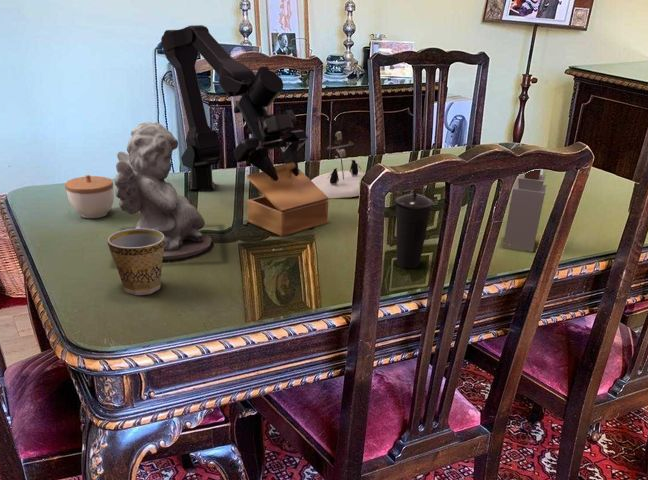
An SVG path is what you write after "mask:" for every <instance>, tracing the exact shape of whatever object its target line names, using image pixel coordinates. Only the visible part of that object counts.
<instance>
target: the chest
mask: <svg viewBox="0 0 648 480" xmlns="http://www.w3.org/2000/svg"><path fill="white" fill-rule="evenodd" d="M246 203H247V223H250V224H251V225H254V226H256V227H259V228H262V229H264V230H267V231H269V232H271V233H273V234H275V235H278V236H280V237H284V236H288V235H291V234H294V233H298V232H301V231H305V230H308V229H311V228H315V227H318V226H322V225H325V224H328V223H329V200H328V201H324V202H320V203H316V204H313V205H309V206H305V207H302V208H298V209H294V210H290V211H287V212H283V213H281V212H280V211H279V210H278V209H277V208H276V207H275V206H274V205H273V204H272V203H271V202H270V201H269V200H268V199H267V198H266V197H265V196H264V195H262V196H259V197H254V198H250V199H247V202H246Z"/></svg>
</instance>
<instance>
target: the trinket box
mask: <svg viewBox="0 0 648 480" xmlns="http://www.w3.org/2000/svg"><path fill="white" fill-rule="evenodd" d="M64 188H65V191H66V196H67V199H68V201H69V204H70V206H71V207H72V209H73V210H74V211H75V212H76V213H78V214H79V215H80V217H82V218H85V219H98V218H99V219H100V218H103V217H105V216H107V215H108V212H109V211H110V210H112V207H113V205H114V201H115V200H114V199H115V192H114V191H115V190H114V181H113V179H111V178H109V177H105V176H98V175H97V176H95V175H90V174H86V175H85V176H79V177H75V178H71V179H69V180H67V181H66V182H65V183H64Z"/></svg>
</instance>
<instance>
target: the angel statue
mask: <svg viewBox="0 0 648 480" xmlns="http://www.w3.org/2000/svg"><path fill="white" fill-rule="evenodd" d="M130 136H131V137H130V139H129V141H128V143H127V144H126V145H127V146H126V151H127V152H124V151H118V152H117V154H116V157H117V159H118V162H117V163H116V164H115V168H116V171H117V174H115V177H114V185H115V186H116V188H115V196H116V198H117V199H119V202H118V205H119V208H120V209H121V210H122V211H126V213H127V214H129V215H134V214H136V213H140V219H139V220H138V221H137V224H136V226H135V228H146V229H153V230H157V231H159V232H161V233H163V235H164V253H163V259H162V263H174V262H184V261H186V260H191V259H192V260H193V259H195V258H200V257H202V256H205V255H206V254H207V253H210V252H212V251H213V249H214V248H215V243H214V242H215V241H213V239H212V237H210V236H209V235H207V234H204V233H203V232H200V231H199V230H202V229H203V228H204V226H205V225H206V222H205V219H204V218H203V216H202V215H201V212H199V210H198V209H197V208H196V207H195V206H194V205H193V204H190V201H189V200H188V198H187V197H186V196H184V195H181V194H178V193H177V190H176V188H175V187H174V185H173V184H172V183H170V182H168V181H166V179H167V178H168V177H169V174H170V172H171V170H172V166H173V164H172V162H171V160H172V155H173V151H175V150H177V148H178V146H179V140H178V139H177V138H175V136H174V135H173V133H172V132H171V131H170V130H168V129H167V128H166V127H165V126H164V125H162V124H161V123H160V122H149V121H148V122H142V123H139V124H138V125H137V126H136V127H135V128H134V129H132V130H131V132H130Z"/></svg>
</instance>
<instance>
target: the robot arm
mask: <svg viewBox="0 0 648 480" xmlns="http://www.w3.org/2000/svg"><path fill="white" fill-rule="evenodd" d="M160 43H161V47H162V49H163V52H164V56H165V58H166V60H167V61H168V63H169V64H170V65H171V66H172V67H173V68H174V70H175V72H176V78H177V81H178V85H179V86H178V87H179V90H180V95H181V99H182V103H183V108H184V112H185V115H186V120H187V124H188V131H187V133H186V137H185V144H186V145H185V146H186V148H185V150H184V152H183V154H182V155H181V157H180V159H181V163H182V166H183V167H186V168H189V170H190V180H191V182H190V185H189V190H190V191H193V192H195V191H216V190H215V189H216V187H215V182H214V180H213V167H212V166H214V165H219V162H220V157H221V150H222V149H221V146H222V145H221V143H220V138H219V133H218V131H217V130H216V129H215V130H213V129H212V127H210V125H209V123H208V120H207V119H208V118H207V115H206V110H205V106H204V102H203V97H202V93H201V92H202V91H201V87H200V82H199V79H198V74H197V70H196V69H197V68H196V63H197V60H198V56H199V55H200V56H201V57H202V58H203V59H204V60H205V61H206V63H208V64H209V66H210V67H211V68H212V69H213V70H214V71H215V73H216V74H217V76H218V84H219V85H220V87H221V88H222V90H223V92H224V93H225V94H226V95H227V96H228V97H231V98H232V97H240V99H238V100H235V105H234V108H233V113H234V114H241V115H242V118H243V120H244V122H245V123H246V126H247V129H246V134H247V135H251V136H252V137H249V138H243V139H241V140H240V142H239V143H238V144H237V146H236V147H235V148H234V149H233V151H232V152H233V158H234V160H235V161H236V163H238V164H239V163H244V162H246V163H247V164H248V165H252V166H254V167H255V168H257V169H259V170H260V172H264V173H265V174H267V175H268V176H269V177H271V178H272V179H273V180H275V181H277V180H278V176H277V173H276V171H275V169H274V167H273V166H274V164H273V163H272V160H271V159H270V156H269V151H271V150H276V149H281V152H282V153H281V155H280V158H281V159H282V160H283V162H284V164H286V163H291V162H294V163H295V166H296V167H295V169H293V170H292V173H293V174H294V175H295V176H298V175H299V170H300V169H299V163H298V151H299V150H300V149H301V147H303V145H304V144H306V142H307V141H308V139H309V137H308V135H307V133H306V131H305V130H303V129H295V130H291V131H289V132H288V133H287V134H286V132H285V131H286V130H288V129H293V128H294V126H293V125H296V124H297V117H296V114H295V113H294V111H293V109H288V110H287V109H286V110H285V111H283V112H282V113H281V114H276V115H274V113H273V114H269V112H268V109H267V108H268V107H270V106H271V105H272V104H273V102H275V100H276V98H277V97H278V96H279V95H280V94H281V92H282V91H283V89H284V80H283V79H282V78H281V77H280V76H279V74H277V73H276V72H274V71H272V70H270V68H269V67H268V66H267V65H266V66H265V65H264V66H259V68H258V69H257V72H256V74H255V72H254V71H253V70H252V69H251V68H249V67H248V66H247V65H246V64H244V63H242V62H239V61H237V60H235V59H233V57H231V55H230V54H229V53H228V51H226V50H225V49H224V48H223V47H222V46H221V44H220V43H219V42H218V41H217V39H216V38H215V37H214V36H213V35H212V34H211V33H210V30H209V29H208V26H206V25H202V24H198V25H196V24H195V25H188V26H185V27H183V28H180V29H166V30H165V31H164V33H163V35H162V36H161V39H160ZM285 134H286V136H285V137H284V138H282V136H284V135H285ZM298 169H299V170H298Z"/></svg>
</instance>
